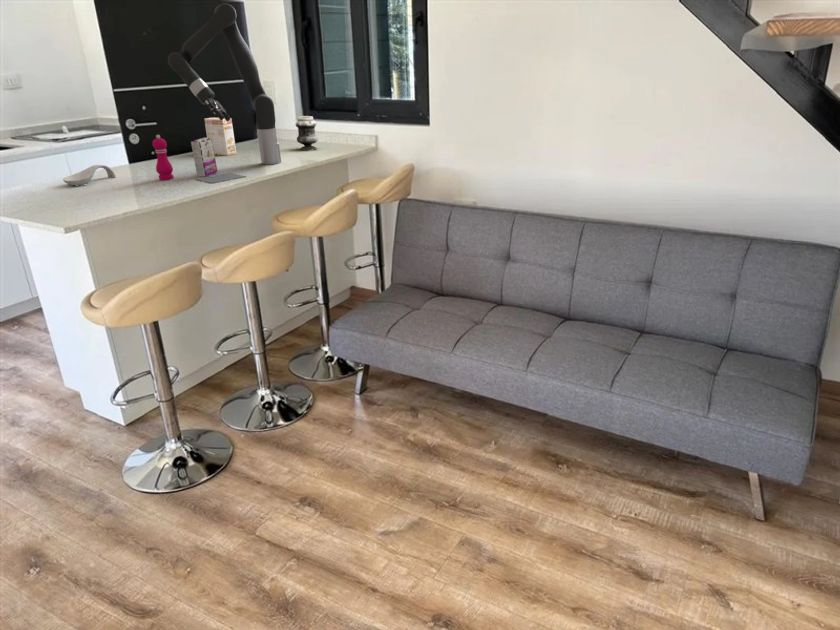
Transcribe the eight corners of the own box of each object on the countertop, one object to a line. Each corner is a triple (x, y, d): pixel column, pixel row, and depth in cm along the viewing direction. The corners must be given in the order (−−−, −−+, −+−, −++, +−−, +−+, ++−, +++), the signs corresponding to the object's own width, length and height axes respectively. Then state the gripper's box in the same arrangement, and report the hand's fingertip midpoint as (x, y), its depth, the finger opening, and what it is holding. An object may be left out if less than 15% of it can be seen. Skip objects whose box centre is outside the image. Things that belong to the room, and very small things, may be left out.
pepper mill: (178, 177, 289) (169, 133, 281) (167, 180, 283) (158, 135, 274) (165, 177, 291) (156, 133, 283) (154, 180, 285) (145, 135, 277)
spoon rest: (76, 189, 273) (72, 172, 271) (59, 187, 278) (55, 171, 275) (121, 178, 293) (117, 163, 290) (104, 177, 298) (100, 162, 295)
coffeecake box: (237, 153, 349) (231, 117, 341) (227, 155, 343) (221, 119, 335) (219, 152, 356) (213, 117, 348) (209, 154, 351) (203, 118, 343)
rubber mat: (230, 173, 295) (229, 172, 294) (246, 176, 286) (246, 176, 286) (195, 179, 283) (195, 179, 283) (211, 183, 274) (211, 182, 274)
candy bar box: (208, 172, 299) (202, 137, 293) (217, 172, 298) (212, 137, 292) (196, 177, 289) (190, 141, 283) (206, 177, 288) (200, 141, 282)
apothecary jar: (316, 150, 351) (313, 117, 344) (295, 151, 351) (292, 118, 344) (320, 147, 362) (317, 115, 355) (299, 147, 362) (296, 115, 355)
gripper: (202, 84, 279) (226, 113, 282) (213, 87, 293) (236, 115, 296) (190, 95, 280) (215, 124, 283) (202, 98, 294) (225, 125, 297)
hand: (226, 119), depth 290 cm, fingers open, 8 cm apart
